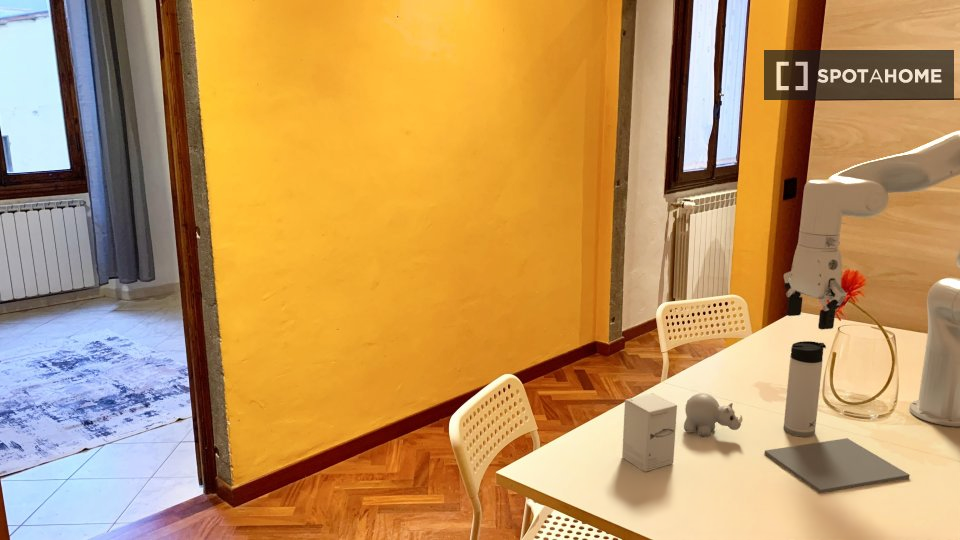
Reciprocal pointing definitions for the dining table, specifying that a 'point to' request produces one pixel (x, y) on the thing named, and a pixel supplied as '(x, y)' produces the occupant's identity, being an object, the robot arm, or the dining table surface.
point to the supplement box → (649, 431)
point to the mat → (835, 465)
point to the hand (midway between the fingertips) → (809, 321)
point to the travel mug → (803, 388)
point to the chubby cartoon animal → (708, 415)
